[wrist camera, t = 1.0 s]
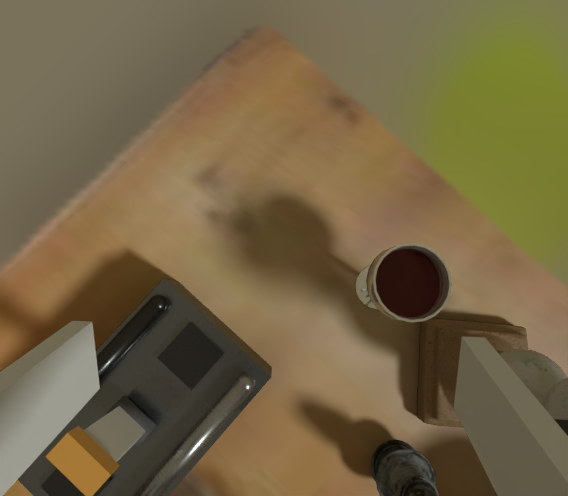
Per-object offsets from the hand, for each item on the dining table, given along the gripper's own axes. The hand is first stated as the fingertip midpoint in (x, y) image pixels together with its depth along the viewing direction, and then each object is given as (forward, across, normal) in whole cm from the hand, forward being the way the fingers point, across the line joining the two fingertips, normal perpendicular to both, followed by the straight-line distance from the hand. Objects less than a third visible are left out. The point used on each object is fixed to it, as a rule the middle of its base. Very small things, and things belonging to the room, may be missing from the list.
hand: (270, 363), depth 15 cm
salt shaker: (+26, -10, +26) cm, 38 cm away
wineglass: (+32, -8, +8) cm, 34 cm away
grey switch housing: (+25, +16, +19) cm, 35 cm away
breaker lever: (+19, +15, +17) cm, 30 cm away
